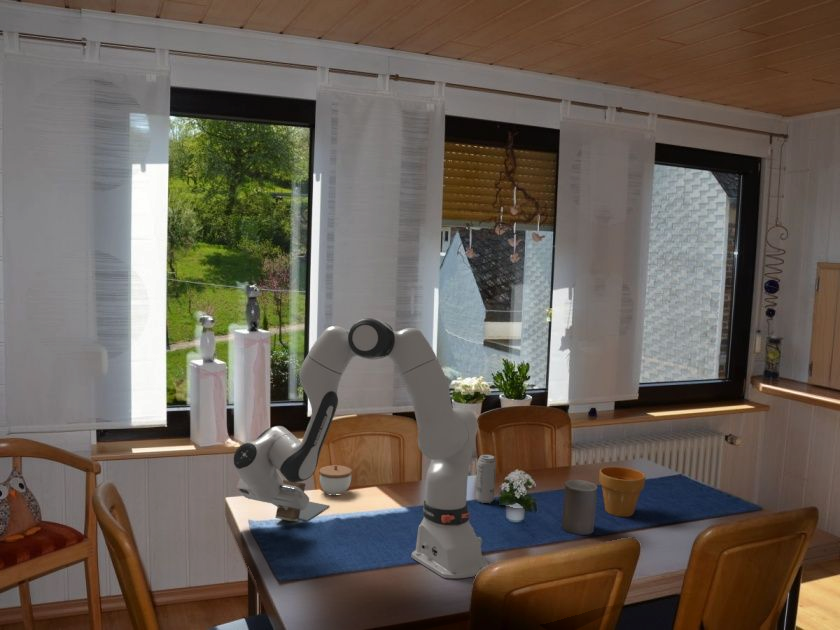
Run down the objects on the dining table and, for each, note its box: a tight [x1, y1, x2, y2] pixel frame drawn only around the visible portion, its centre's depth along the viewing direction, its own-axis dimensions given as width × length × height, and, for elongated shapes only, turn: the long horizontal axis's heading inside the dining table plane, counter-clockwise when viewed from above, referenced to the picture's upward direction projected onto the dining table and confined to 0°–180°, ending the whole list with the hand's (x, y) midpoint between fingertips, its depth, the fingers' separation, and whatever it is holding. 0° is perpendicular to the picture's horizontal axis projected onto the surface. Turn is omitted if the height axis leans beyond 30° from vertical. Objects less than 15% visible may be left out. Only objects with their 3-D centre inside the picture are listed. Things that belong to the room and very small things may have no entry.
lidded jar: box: [318, 464, 353, 496], centre depth 245 cm, size 11×11×9 cm
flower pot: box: [598, 466, 646, 518], centre depth 238 cm, size 14×14×13 cm
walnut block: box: [275, 479, 306, 522], centre depth 219 cm, size 5×5×11 cm
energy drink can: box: [475, 454, 497, 504], centre depth 243 cm, size 6×6×15 cm
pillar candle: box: [561, 479, 598, 536], centre depth 223 cm, size 10×10×15 cm
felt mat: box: [298, 501, 330, 522], centre depth 227 cm, size 14×10×1 cm
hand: (283, 506), depth 216 cm, fingers closed, pressing on walnut block
